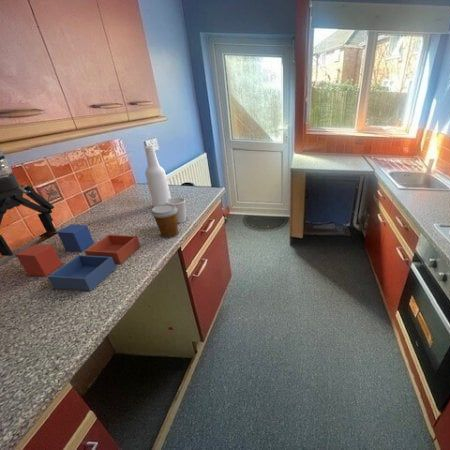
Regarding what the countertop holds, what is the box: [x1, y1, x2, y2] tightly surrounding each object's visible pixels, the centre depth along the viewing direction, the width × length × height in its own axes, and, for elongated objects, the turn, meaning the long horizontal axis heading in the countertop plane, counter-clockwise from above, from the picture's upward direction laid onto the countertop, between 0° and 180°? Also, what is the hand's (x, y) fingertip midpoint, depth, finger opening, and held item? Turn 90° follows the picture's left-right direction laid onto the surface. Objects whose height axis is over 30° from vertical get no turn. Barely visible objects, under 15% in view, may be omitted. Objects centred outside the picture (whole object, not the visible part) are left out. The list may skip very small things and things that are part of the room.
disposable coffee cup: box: [150, 204, 179, 238], centre depth 103 cm, size 10×10×12 cm
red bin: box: [84, 234, 141, 264], centre depth 91 cm, size 11×11×5 cm
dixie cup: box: [165, 196, 187, 224], centre depth 114 cm, size 8×8×10 cm
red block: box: [15, 243, 63, 277], centre depth 80 cm, size 6×6×8 cm
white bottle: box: [144, 145, 172, 208], centre depth 124 cm, size 9×9×30 cm
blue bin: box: [47, 254, 117, 292], centre depth 79 cm, size 11×11×5 cm
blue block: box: [56, 223, 95, 253], centre depth 93 cm, size 6×6×8 cm
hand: (31, 242), depth 77 cm, fingers open, 13 cm apart
